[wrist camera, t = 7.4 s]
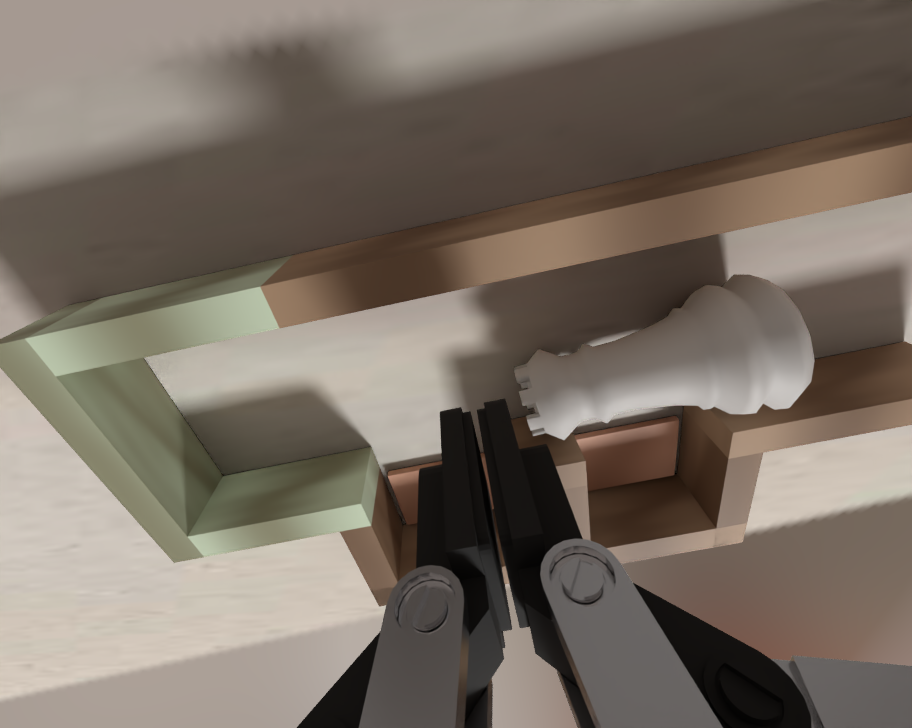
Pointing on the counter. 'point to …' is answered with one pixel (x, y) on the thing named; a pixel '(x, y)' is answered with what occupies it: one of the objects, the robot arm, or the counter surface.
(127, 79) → the counter surface
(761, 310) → the rook chess piece
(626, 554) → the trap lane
